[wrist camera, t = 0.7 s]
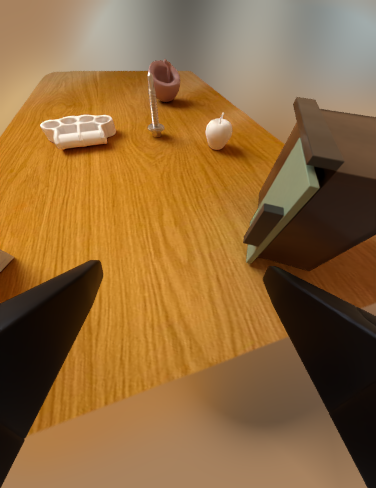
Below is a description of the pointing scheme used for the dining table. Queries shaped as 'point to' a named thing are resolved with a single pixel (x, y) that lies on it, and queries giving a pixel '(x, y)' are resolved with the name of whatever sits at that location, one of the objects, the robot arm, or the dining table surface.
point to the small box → (4, 259)
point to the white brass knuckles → (79, 130)
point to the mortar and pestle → (165, 80)
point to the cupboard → (328, 187)
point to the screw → (154, 109)
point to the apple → (218, 133)
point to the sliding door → (281, 202)
